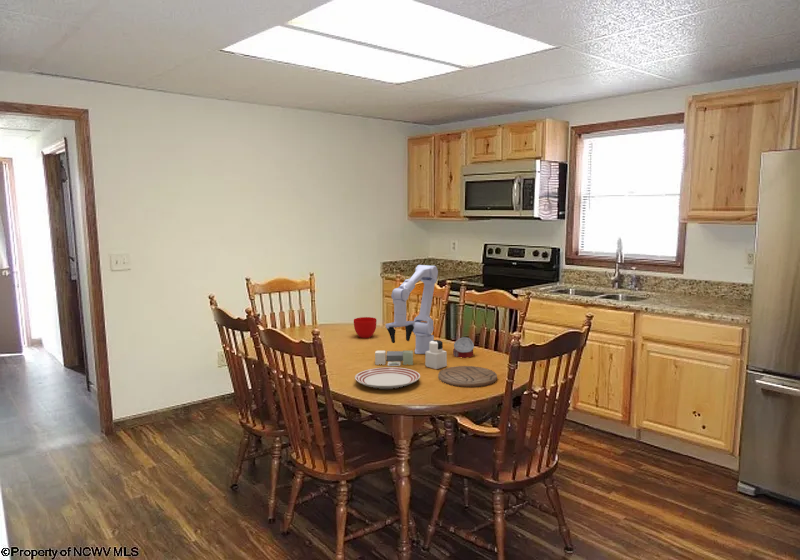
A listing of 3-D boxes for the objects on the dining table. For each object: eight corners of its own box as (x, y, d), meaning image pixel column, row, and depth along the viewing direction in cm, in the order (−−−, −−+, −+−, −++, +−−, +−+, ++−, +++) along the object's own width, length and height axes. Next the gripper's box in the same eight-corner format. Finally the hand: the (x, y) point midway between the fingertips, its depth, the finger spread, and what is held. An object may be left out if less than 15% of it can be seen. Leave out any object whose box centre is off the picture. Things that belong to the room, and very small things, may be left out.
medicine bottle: (435, 363, 260) (435, 338, 258) (447, 366, 255) (447, 340, 253) (425, 366, 255) (424, 341, 253) (436, 369, 250) (436, 343, 248)
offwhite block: (385, 362, 263) (385, 350, 262) (385, 364, 258) (384, 353, 257) (376, 362, 263) (375, 350, 262) (375, 364, 258) (375, 353, 258)
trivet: (474, 367, 254) (474, 363, 254) (509, 382, 232) (509, 377, 232) (427, 375, 243) (427, 371, 242) (458, 391, 221) (459, 387, 220)
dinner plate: (347, 377, 240) (346, 370, 240) (405, 370, 250) (405, 362, 250) (367, 397, 215) (366, 389, 214) (430, 388, 225) (430, 380, 225)
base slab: (403, 357, 272) (403, 351, 272) (403, 361, 264) (403, 355, 264) (387, 357, 272) (387, 351, 272) (386, 361, 264) (386, 355, 264)
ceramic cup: (381, 333, 322) (380, 316, 321) (373, 339, 306) (372, 322, 304) (359, 332, 325) (359, 315, 324) (350, 338, 309) (350, 321, 307)
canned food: (473, 363, 275) (482, 347, 271) (460, 365, 268) (469, 349, 264) (458, 349, 281) (466, 334, 278) (445, 351, 274) (453, 335, 271)
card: (400, 362, 262) (400, 361, 262) (400, 365, 256) (400, 365, 256) (388, 362, 262) (388, 361, 262) (387, 365, 256) (387, 365, 256)
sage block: (413, 362, 262) (412, 350, 261) (412, 364, 258) (412, 353, 257) (403, 362, 262) (403, 350, 262) (403, 364, 258) (402, 353, 257)
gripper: (410, 310, 267) (410, 338, 269) (382, 313, 261) (383, 341, 263) (416, 313, 261) (417, 341, 262) (388, 316, 255) (389, 344, 256)
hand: (400, 341), depth 262 cm, fingers open, 7 cm apart
